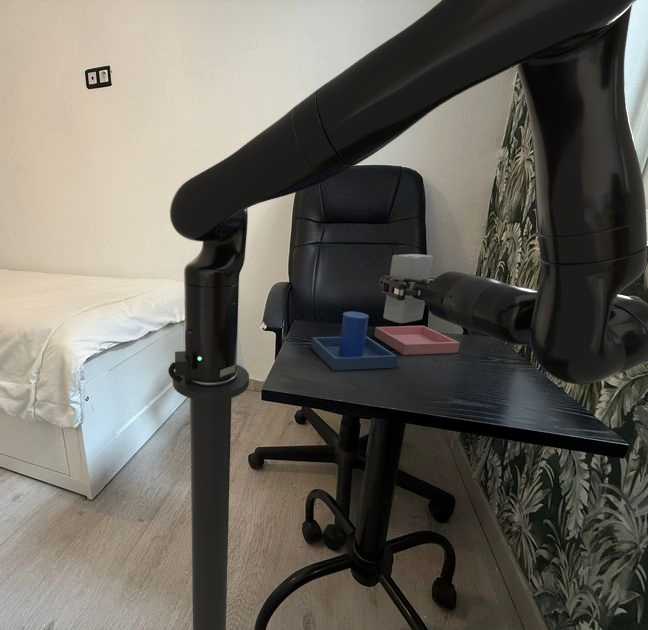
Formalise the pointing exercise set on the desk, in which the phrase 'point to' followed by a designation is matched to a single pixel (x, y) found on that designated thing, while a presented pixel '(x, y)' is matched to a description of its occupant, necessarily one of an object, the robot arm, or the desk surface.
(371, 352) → the blue tray
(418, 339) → the rose tray
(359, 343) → the blue canister
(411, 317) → the cosmetic box
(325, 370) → the desk surface
